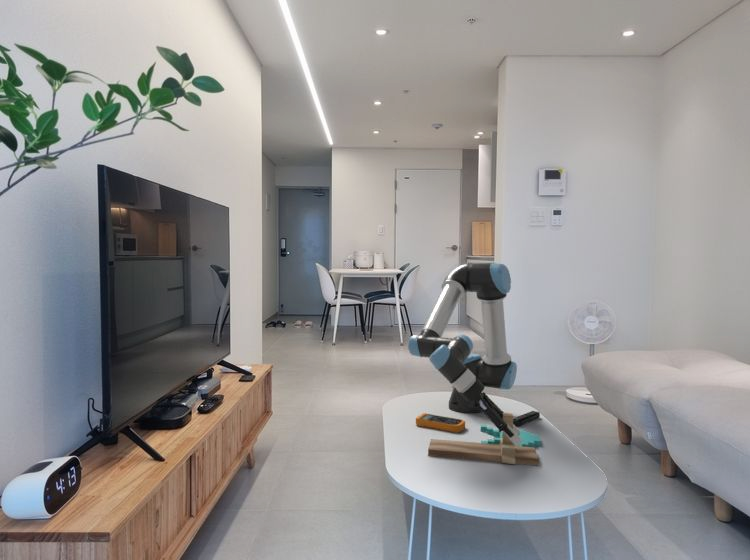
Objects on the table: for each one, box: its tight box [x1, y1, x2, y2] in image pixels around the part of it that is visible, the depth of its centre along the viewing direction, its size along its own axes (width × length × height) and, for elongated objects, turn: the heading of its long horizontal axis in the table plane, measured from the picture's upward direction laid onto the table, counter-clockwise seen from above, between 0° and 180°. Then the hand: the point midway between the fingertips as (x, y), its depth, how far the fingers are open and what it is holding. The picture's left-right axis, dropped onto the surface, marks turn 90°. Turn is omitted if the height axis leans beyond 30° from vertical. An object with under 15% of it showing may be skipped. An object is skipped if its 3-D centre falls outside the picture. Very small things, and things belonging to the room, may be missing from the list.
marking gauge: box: [499, 412, 516, 465], centre depth 158 cm, size 10×4×13 cm, turn 169°
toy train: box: [513, 410, 541, 428], centre depth 198 cm, size 18×3×3 cm, turn 134°
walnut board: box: [427, 438, 539, 466], centre depth 162 cm, size 10×34×2 cm, turn 78°
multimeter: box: [415, 412, 466, 433], centre depth 190 cm, size 9×18×3 cm, turn 61°
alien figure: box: [480, 424, 542, 449], centre depth 175 cm, size 20×2×20 cm
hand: (518, 438), depth 159 cm, fingers open, 8 cm apart
